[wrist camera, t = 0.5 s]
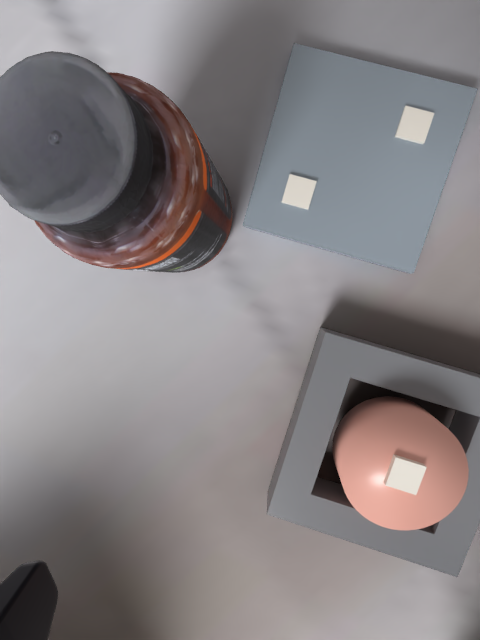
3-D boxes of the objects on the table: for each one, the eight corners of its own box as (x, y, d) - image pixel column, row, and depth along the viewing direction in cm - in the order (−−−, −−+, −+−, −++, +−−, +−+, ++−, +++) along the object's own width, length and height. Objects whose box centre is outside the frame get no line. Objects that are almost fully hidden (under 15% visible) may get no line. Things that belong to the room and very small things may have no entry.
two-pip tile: (470, 95, 18) (480, 86, 17) (409, 273, 19) (414, 273, 18) (293, 50, 18) (294, 40, 17) (243, 226, 19) (242, 224, 19)
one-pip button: (459, 415, 18) (491, 438, 16) (421, 513, 19) (446, 551, 16) (351, 382, 19) (364, 399, 16) (318, 480, 19) (325, 512, 17)
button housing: (505, 381, 19) (532, 393, 17) (439, 548, 20) (457, 577, 18) (320, 327, 20) (325, 332, 18) (267, 492, 21) (266, 514, 19)
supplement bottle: (171, 137, 19) (29, -61, 8) (256, 209, 19) (233, 109, 8) (105, 226, 20) (-106, 158, 9) (187, 295, 20) (79, 313, 9)
